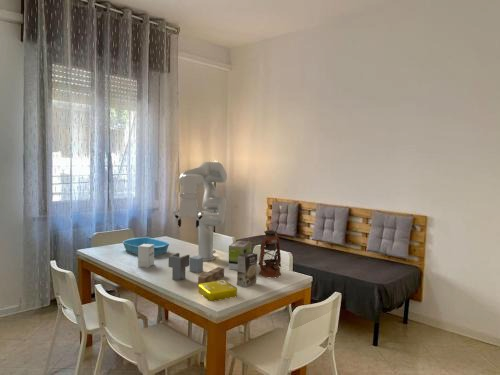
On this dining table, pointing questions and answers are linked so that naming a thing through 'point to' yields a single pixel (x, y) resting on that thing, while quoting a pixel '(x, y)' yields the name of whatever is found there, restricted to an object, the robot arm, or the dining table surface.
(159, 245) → the casserole dish
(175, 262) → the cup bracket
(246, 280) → the coffee box
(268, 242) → the lantern
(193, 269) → the grey blue block
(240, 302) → the dining table surface
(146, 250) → the supplement box
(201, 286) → the element tile
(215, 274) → the rail
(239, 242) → the tea box
